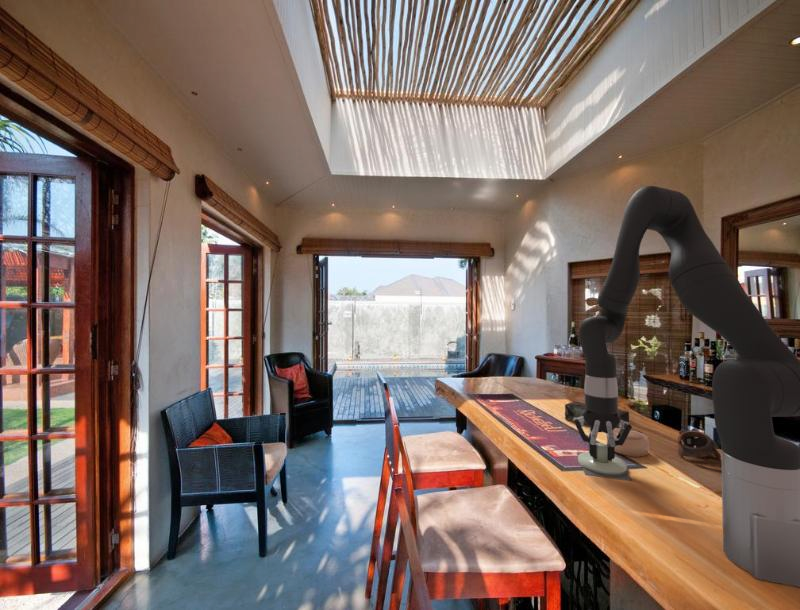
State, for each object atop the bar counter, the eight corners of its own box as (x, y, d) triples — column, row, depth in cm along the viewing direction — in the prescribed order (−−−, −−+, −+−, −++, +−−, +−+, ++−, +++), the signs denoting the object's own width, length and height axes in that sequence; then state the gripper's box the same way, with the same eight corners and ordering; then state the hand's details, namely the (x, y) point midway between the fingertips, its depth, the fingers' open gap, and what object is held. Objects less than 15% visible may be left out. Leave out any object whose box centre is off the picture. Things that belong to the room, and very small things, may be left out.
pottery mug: (734, 467, 91) (725, 442, 89) (698, 480, 92) (688, 456, 90) (698, 438, 102) (689, 416, 101) (666, 451, 104) (657, 429, 102)
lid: (632, 478, 83) (632, 456, 83) (581, 471, 86) (581, 450, 87) (620, 459, 93) (619, 440, 93) (575, 453, 97) (574, 435, 97)
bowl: (654, 461, 93) (653, 442, 93) (611, 456, 96) (611, 438, 96) (641, 447, 102) (641, 430, 102) (603, 443, 106) (603, 426, 106)
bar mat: (632, 483, 82) (632, 480, 82) (585, 476, 85) (585, 474, 85) (616, 458, 95) (616, 456, 95) (576, 454, 98) (576, 452, 98)
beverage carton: (574, 415, 134) (574, 398, 134) (630, 429, 118) (630, 410, 119) (564, 420, 129) (564, 402, 129) (621, 434, 114) (621, 414, 114)
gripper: (573, 394, 89) (574, 461, 89) (636, 398, 84) (637, 469, 84) (569, 387, 96) (570, 449, 96) (627, 391, 91) (628, 456, 91)
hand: (601, 458), depth 90 cm, fingers closed on lid, 3 cm apart
